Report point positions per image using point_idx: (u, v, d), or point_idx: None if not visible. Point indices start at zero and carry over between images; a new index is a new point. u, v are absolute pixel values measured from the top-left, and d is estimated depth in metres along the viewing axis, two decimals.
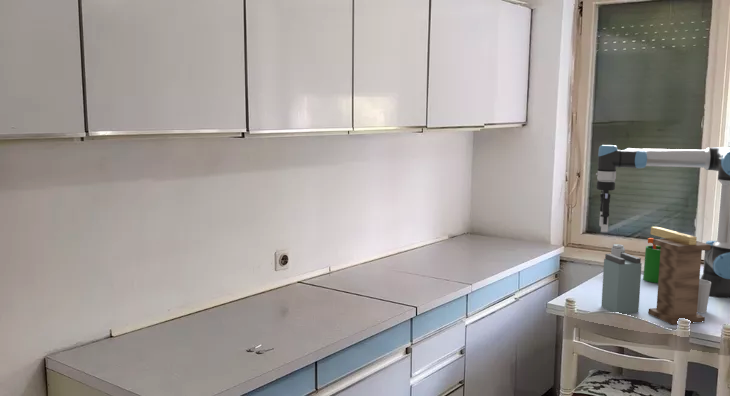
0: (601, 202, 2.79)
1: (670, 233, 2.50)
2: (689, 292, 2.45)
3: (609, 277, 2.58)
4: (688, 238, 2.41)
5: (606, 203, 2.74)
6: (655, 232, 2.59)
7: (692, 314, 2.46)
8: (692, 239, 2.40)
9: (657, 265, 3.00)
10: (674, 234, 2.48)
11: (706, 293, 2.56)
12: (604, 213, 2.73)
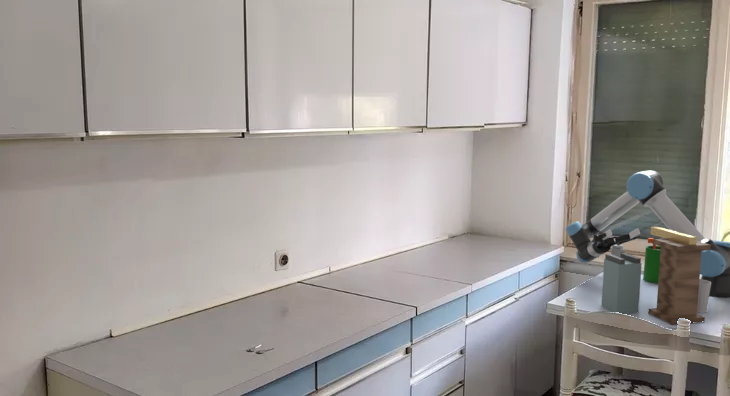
0: (603, 244, 2.90)
1: (670, 233, 2.50)
2: (689, 292, 2.45)
3: (609, 277, 2.58)
4: (688, 238, 2.41)
5: (593, 241, 2.90)
6: (655, 232, 2.59)
7: (692, 314, 2.46)
8: (692, 239, 2.40)
9: (657, 265, 3.00)
10: (674, 234, 2.48)
11: (706, 293, 2.56)
12: (594, 239, 2.85)
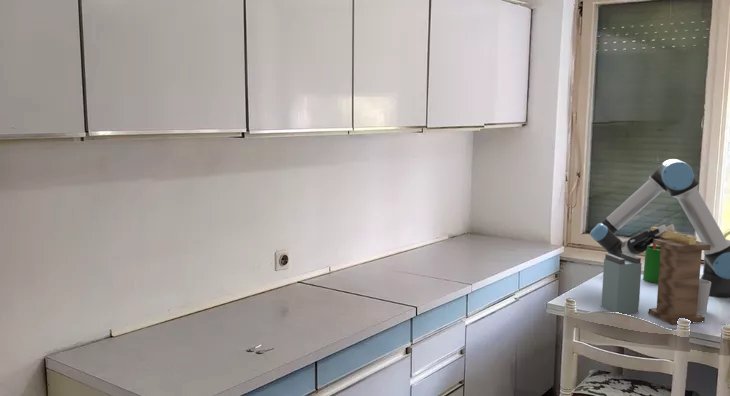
0: (645, 242, 2.64)
1: (670, 233, 2.50)
2: (689, 292, 2.45)
3: (609, 277, 2.58)
4: (688, 238, 2.41)
5: (638, 238, 2.63)
6: None
7: (692, 314, 2.46)
8: (692, 239, 2.40)
9: (657, 265, 3.00)
10: (674, 234, 2.48)
11: (706, 293, 2.56)
12: (645, 236, 2.59)
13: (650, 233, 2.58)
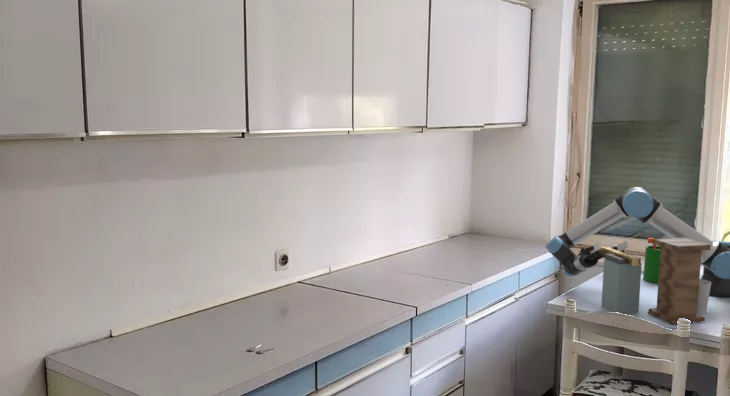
0: (590, 257, 2.74)
1: (616, 253, 2.60)
2: (689, 292, 2.45)
3: (609, 277, 2.58)
4: (631, 259, 2.50)
5: (580, 254, 2.73)
6: (603, 251, 2.69)
7: (692, 314, 2.46)
8: (635, 260, 2.50)
9: (657, 265, 3.00)
10: (619, 254, 2.58)
11: (706, 293, 2.56)
12: (582, 253, 2.69)
13: (585, 250, 2.69)
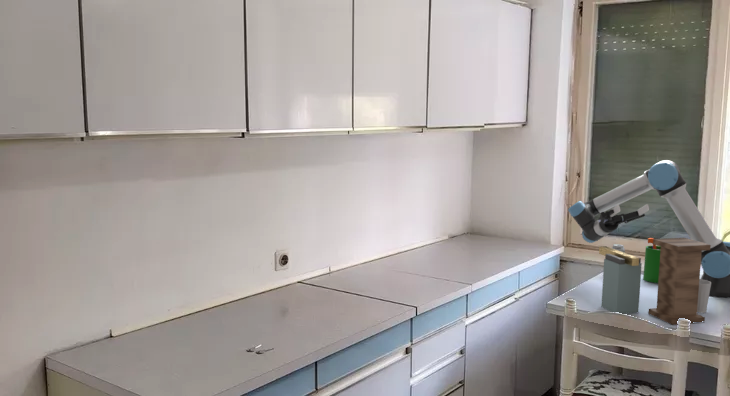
0: (611, 221, 2.78)
1: (616, 253, 2.60)
2: (689, 292, 2.45)
3: (609, 277, 2.58)
4: (631, 259, 2.50)
5: (600, 218, 2.78)
6: (603, 251, 2.69)
7: (692, 314, 2.46)
8: (635, 260, 2.50)
9: (657, 265, 3.00)
10: (619, 254, 2.58)
11: (706, 293, 2.56)
12: (602, 216, 2.73)
13: None
